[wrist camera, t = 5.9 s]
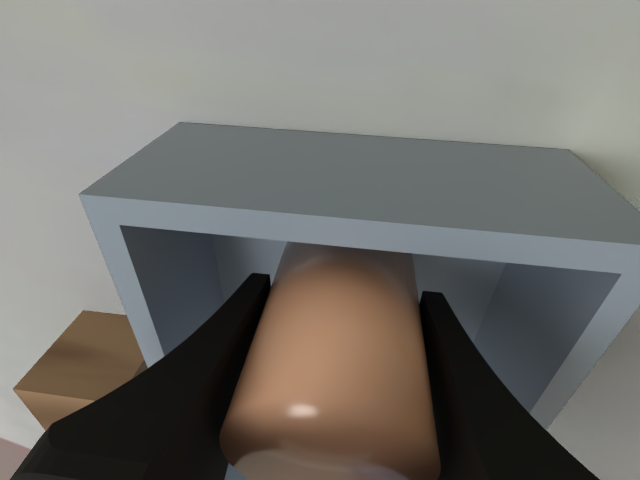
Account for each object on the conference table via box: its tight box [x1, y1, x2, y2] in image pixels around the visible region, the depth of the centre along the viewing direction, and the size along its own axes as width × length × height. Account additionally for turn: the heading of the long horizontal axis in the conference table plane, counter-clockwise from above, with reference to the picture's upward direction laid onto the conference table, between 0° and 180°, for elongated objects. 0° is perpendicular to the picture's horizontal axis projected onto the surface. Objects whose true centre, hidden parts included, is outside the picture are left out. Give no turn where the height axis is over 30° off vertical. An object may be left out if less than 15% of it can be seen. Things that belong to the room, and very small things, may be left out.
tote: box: [78, 122, 640, 480], centre depth 16 cm, size 18×14×6 cm
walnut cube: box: [13, 310, 148, 430], centre depth 20 cm, size 5×5×5 cm
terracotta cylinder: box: [219, 241, 441, 480], centre depth 11 cm, size 5×5×7 cm
